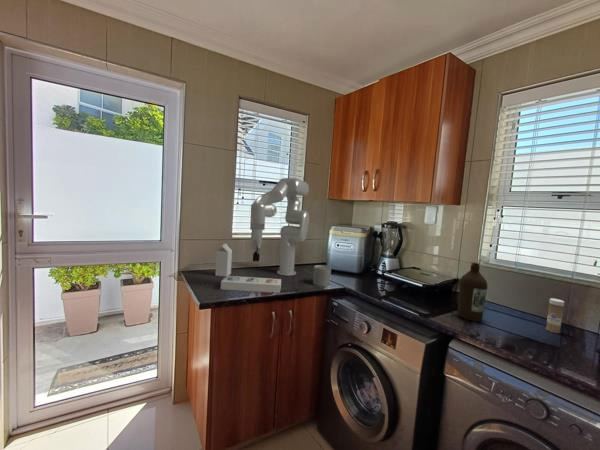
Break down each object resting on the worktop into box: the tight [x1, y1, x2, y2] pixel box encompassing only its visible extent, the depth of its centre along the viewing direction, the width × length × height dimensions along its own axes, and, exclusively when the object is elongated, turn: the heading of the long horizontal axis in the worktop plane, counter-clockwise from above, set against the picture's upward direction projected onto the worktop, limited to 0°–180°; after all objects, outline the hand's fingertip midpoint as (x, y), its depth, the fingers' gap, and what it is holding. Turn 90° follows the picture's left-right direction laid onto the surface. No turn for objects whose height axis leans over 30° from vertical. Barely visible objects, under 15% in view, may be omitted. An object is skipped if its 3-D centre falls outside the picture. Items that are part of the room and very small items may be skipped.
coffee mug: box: [312, 264, 332, 287], centre depth 167 cm, size 13×10×10 cm
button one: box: [267, 278, 276, 283], centre depth 149 cm, size 5×5×4 cm
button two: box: [229, 277, 238, 281], centre depth 149 cm, size 5×5×4 cm
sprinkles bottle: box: [545, 297, 565, 334], centre depth 117 cm, size 5×5×14 cm
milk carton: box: [215, 243, 233, 278], centre depth 170 cm, size 7×7×19 cm
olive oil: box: [457, 261, 488, 322], centre depth 126 cm, size 11×11×25 cm
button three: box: [248, 277, 257, 282], centre depth 149 cm, size 5×5×4 cm
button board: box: [220, 275, 282, 294], centre depth 149 cm, size 12×30×4 cm, turn 91°
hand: (256, 260), depth 150 cm, fingers closed
